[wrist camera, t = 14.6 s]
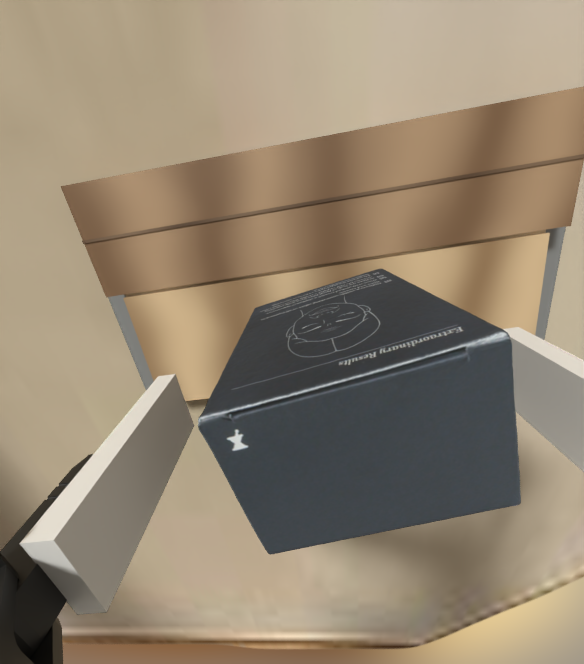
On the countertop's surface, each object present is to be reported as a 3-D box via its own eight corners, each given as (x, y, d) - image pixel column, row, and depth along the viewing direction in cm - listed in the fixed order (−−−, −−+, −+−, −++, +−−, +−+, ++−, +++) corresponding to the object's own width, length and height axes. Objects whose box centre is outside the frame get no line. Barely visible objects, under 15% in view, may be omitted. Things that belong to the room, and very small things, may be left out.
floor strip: (120, 290, 19) (105, 297, 17) (80, 188, 16) (59, 186, 15) (547, 224, 16) (572, 225, 15) (569, 96, 14) (600, 83, 13)
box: (283, 385, 19) (264, 562, 9) (253, 305, 17) (186, 417, 7) (403, 353, 18) (531, 514, 8) (384, 264, 16) (521, 329, 6)
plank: (171, 392, 21) (161, 404, 20) (135, 289, 18) (121, 294, 17) (514, 350, 19) (531, 359, 18) (529, 228, 16) (550, 228, 15)
